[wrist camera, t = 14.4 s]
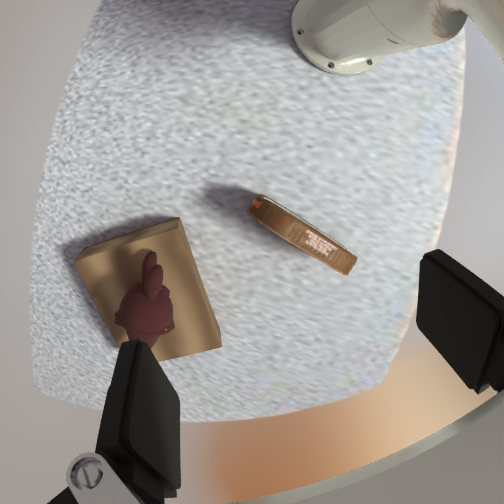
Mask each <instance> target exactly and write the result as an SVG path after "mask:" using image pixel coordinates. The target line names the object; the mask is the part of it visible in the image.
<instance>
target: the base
mask: <svg viewBox="0 0 504 504" xmlns="http://www.w3.org/2000/svg"><path fill="white" fill-rule="evenodd" d="M151 251H153V252H156V254H157V264H159V265H161V266H162V268H163V282H162V285H164V286H166V287H167V288H168V289H169V290H170V296H169V298H170V299H171V302H172V305H173V320H174V324H175V328H174V329H173V330H171V331H170V332H169V333H167V334H164V335H160V337H159V338H158V340H157V341H156V343H155V344H154V346H153V347H152V348H151V351H152V352H153V354H154V356H155V358H156V359H157V361H158V362H160V361H165V360H169V359H174V358H178V357H182V356H187V355H191V354H195V353H199V352H204V351H208V350H212V349H216V348H220V347H222V342H221V333H220V328H219V325H218V323H217V320H216V318H215V315H214V312H213V310H212V307H211V304H210V302H209V299H208V296H207V294H206V291H205V288H204V285H203V283H202V280H201V277H200V274H199V272H198V269H197V266H196V263H195V260H194V257H193V255H192V252H191V249H190V246H189V243H188V240H187V237H186V234H185V231H184V228H183V225H182V222H181V219H180V218H177V219H173V220H170V221H167V222H164V223H160V224H157V225H154V226H151V227H148V228H144V229H141V230H138V231H135V232H132V233H129V234H126V235H123V236H120V237H117V238H114V239H111V240H108V241H105V242H102V243H99V244H96V245H93V246H90V247H87V248H84V249H83V250H82V252H81V253H80V254H79V255H78V257H77V258H76V259H75V261H74V263H75V265H76V267H77V269H78V271H79V273H80V276H81V278H82V280H83V282H84V284H85V286H86V288H87V290H88V292H89V294H90V295H91V297H92V299H93V301H94V303H95V305H96V307H97V309H98V311H99V312H100V314H101V316H102V318H103V320H104V321H105V323H106V325H107V327H108V329H109V330H110V332H111V334H112V335H113V337H114V339H115V341H116V342H117V344H118V346H119V347H120V346H121V344H122V342H125V341H129V339H128V335H127V332H126V329H125V328H123V327H122V326H118V325H116V324H115V322H114V320H115V313H116V312H117V311H118V310H119V307H120V303H121V301H122V299H123V297H124V295H125V294H126V292H127V291H128V290H129V289H130V288H131V287H133V286H134V285H136V284H140V283H143V281H142V263H143V261H144V258H145V256H146V255H147V254H148V253H149V252H151Z"/></svg>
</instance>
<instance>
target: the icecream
mask: <svg viewBox="0 0 504 504" xmlns="http://www.w3.org/2000/svg"><path fill="white" fill-rule="evenodd" d="M142 281H143V283H140V284H136V285H134V286H133V287H131V288H130V289H129V290H128V291H127V292H126V294H125V295H124V297H123V299H122V301H121V303H120V307H119V310H118V311H117V312H116V313H115V320H114V322H115V324H116V325H118V326H122V327H123V328H125V329H126V332H127V335H128V339H129V341H130V340H134V339H140V340H141V341H142V342H146V343H147V344H148V345H149V347H150V349H151V348H152V347H153V346H154V344H155V343H156V341H157V340H158V338H159V337H160V335H164V334H167V333H169V332H170V331H171V330H173V329H174V328H175V324H174V320H173V305H172V302H171V299H170V298H169V296H170V290H169V289H168V288H167V287H166V286H164V285H162V282H163V268H162V266H161V265H159V264H157V254H156V252H153V251H151V252H149V253H148V254H147V255H146V256H145V258H144V261H143V263H142Z"/></svg>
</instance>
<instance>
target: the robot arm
mask: <svg viewBox="0 0 504 504" xmlns="http://www.w3.org/2000/svg"><path fill="white" fill-rule="evenodd" d="M468 16H469V17H470V18H471V19H472V21H473V22H474V23H475V25H476V26H477V27H478V29H479V30H480V31H481V33H482V34H483V35H484V36H485V38H486V39H487V40H488V42H489V43H490V45H491V46H492V48H493V49H494V51H495V53H496V54H497V56H498V57H499V59H500V61H501V62H502V64H503V66H504V0H300V1H299V2H298V3H297V4H296V6H295V8H294V10H293V12H292V17H291V30H292V34H293V38H294V40H295V42H296V45H297V46H298V48H299V49H300V51H301V52H302V54H303V55H304V56H305V57H306V58H307V59H308V60H309V61H310V62H312V63H313V64H314V65H315V66H317V67H319V68H320V69H322V70H324V71H327V72H329V73H332V74H336V75H342V76H351V75H357V74H360V73H364V72H366V71H368V70H370V69H371V68H373V67H374V66H375V65H376V64H377V63H378V61H379V60H380V58H381V56H383V55H387V54H392V53H396V52H401V51H405V50H410V49H415V48H420V47H426V46H431V45H436V44H440V43H444V42H446V41H448V40H450V39H452V38H453V37H455V36H456V35H457V34H458V33H459V32H460V31H461V29H462V27H463V26H464V24H465V22H466V20H467V17H468ZM297 32H300V35H299V34H298V33H297ZM367 62H368V64H367ZM328 64H329V65H330V68H329V67H328ZM416 323H417V326H418V328H419V330H420V331H421V332H422V333H423V334H424V335H425V337H426V338H427V339H428V340H429V341H430V342H431V343H432V345H433V346H434V347H435V348H436V349H437V350H438V352H439V353H440V354H441V355H442V356H443V358H444V359H445V360H446V361H447V362H448V364H449V365H450V366H451V367H452V368H453V369H454V371H455V372H456V373H457V374H458V376H459V377H460V378H461V379H462V380H463V382H464V383H465V384H466V386H467V387H468V388H469V389H474V390H475V392H476V393H477V394H479V393H481V392H483V391H484V390H486V389H487V388H488V387H489V386H491V387H492V388H493V397H492V398H491V399H489V400H488V401H486V402H485V403H483V404H482V405H480V406H479V407H478V408H476V409H474V410H473V411H471V412H469V413H468V414H466V415H465V416H463V417H462V418H460V419H458V420H457V421H455V422H453V423H452V424H450V425H448V426H446V427H445V428H443V429H441V430H439V431H437V432H436V433H434V434H432V435H430V436H428V437H426V438H424V439H422V440H420V441H419V442H417V443H415V444H413V445H410V446H409V447H407V448H404V449H402V450H400V451H398V452H396V453H394V454H391V455H389V456H387V457H385V458H382V459H380V460H378V461H375V462H373V463H370V464H368V465H365V466H363V467H360V468H358V469H355V470H352V471H350V472H347V473H344V474H342V475H339V476H336V477H333V478H330V479H327V480H323V481H321V482H317V483H314V484H310V485H307V486H304V487H300V488H296V489H293V490H289V491H285V492H281V493H277V494H273V495H269V496H264V497H259V498H254V499H249V500H243V501H238V502H232V503H226V504H504V297H503V296H502V295H501V294H499V292H497V291H496V290H495V289H493V288H492V287H491V286H490V285H488V284H487V283H486V282H484V281H483V280H482V279H480V278H479V277H478V276H476V275H475V274H474V273H472V272H471V271H470V270H468V269H467V268H466V267H464V266H463V265H461V264H460V263H459V262H457V261H456V260H454V259H453V258H451V257H450V256H449V255H447V254H446V253H444V252H443V251H442V250H440V249H436V250H433V251H431V252H428V253H425V254H424V256H423V259H422V260H421V261H420V273H419V291H418V305H417V316H416ZM66 480H67V483H68V487H67V488H66V489H64V490H63V491H62V492H61V493H60V494H58V495H57V496H56V497H55V498H53V499H52V500H51V501H50V502H49V503H47V504H164V498H174V497H177V492H176V489H179V488H180V487H181V469H180V400H179V397H178V394H177V393H176V391H175V389H174V388H173V386H172V385H171V383H170V381H169V380H168V378H167V376H166V375H165V373H164V371H163V370H162V368H161V366H160V365H159V363H158V361H157V359H156V358H155V356H154V354H153V352H152V351H151V349H150V347H149V345H148V344H147V343H146V342H142V341H141V340H140V339H134V340H130V341H125V342H122V344H121V346H120V350H119V354H118V357H117V361H116V365H115V369H114V373H113V377H112V381H111V385H110V386H109V389H108V392H107V396H106V401H105V405H104V410H103V414H102V419H101V424H100V429H99V434H98V439H97V444H96V450H95V453H89V452H88V453H84V454H81V455H79V456H78V457H76V458H75V459H74V460H73V461H72V462H71V464H70V465H69V467H68V470H67V473H66Z"/></svg>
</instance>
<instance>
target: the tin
mask: <svg viewBox="0 0 504 504" xmlns="http://www.w3.org/2000/svg"><path fill="white" fill-rule="evenodd" d="M247 213H248V214H249V215H250V216H251V217H253V218H254V219H255V220H256V221H258V222H259V223H260V224H261V225H263V226H264V227H266V228H267V229H269V230H270V231H272V232H273V233H275V234H276V235H278V236H279V237H281V238H283V239H284V240H286V241H288V242H289V243H291V244H293V245H294V246H296V247H298V248H299V249H301V250H303V251H304V252H306V253H308V254H310V255H311V256H313V257H315V258H316V259H318V260H320V261H321V262H323V263H324V264H326V265H328V266H329V267H331V268H333V269H334V270H336V271H338V272H339V273H341V274H343V275H346V276H348V274H349V272H350V270H351V269H352V267H353V266H354V264H355V263H356V261H357V257H356V256H355V255H353V254H351V253H350V252H348V251H347V249H346V248H345V247H344V246H342V245H341V244H340V243H338V242H337V241H335V240H334V239H332V238H331V237H330V236H328V235H327V234H325V233H324V232H322V231H321V230H319V229H318V228H316V227H315V226H313V225H312V224H310V223H309V222H307V221H306V220H304V219H303V218H301V217H300V216H298V215H296V214H295V213H293V212H292V211H290V210H288V209H287V208H285V207H283V206H282V205H280V204H278V203H277V202H275V201H273V200H272V199H270V198H268V197H266V196H264V195H262V194H259V195H258V196H257V197H256V198H255V200H254V201H253V203H252V204H251V206H250V207H249V209H247Z"/></svg>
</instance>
